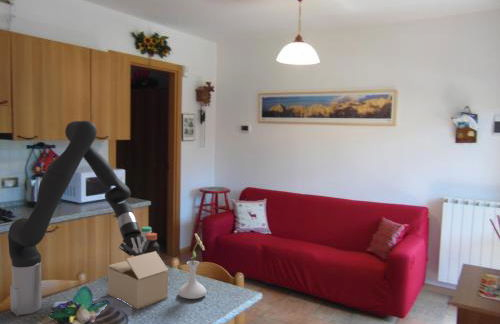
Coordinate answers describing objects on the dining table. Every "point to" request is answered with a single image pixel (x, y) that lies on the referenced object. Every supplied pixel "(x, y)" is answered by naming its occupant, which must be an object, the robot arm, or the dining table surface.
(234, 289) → the dining table surface
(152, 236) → the vinegar
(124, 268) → the back flap
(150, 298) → the carton
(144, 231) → the milk bottle
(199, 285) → the flower in vase
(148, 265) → the front flap
